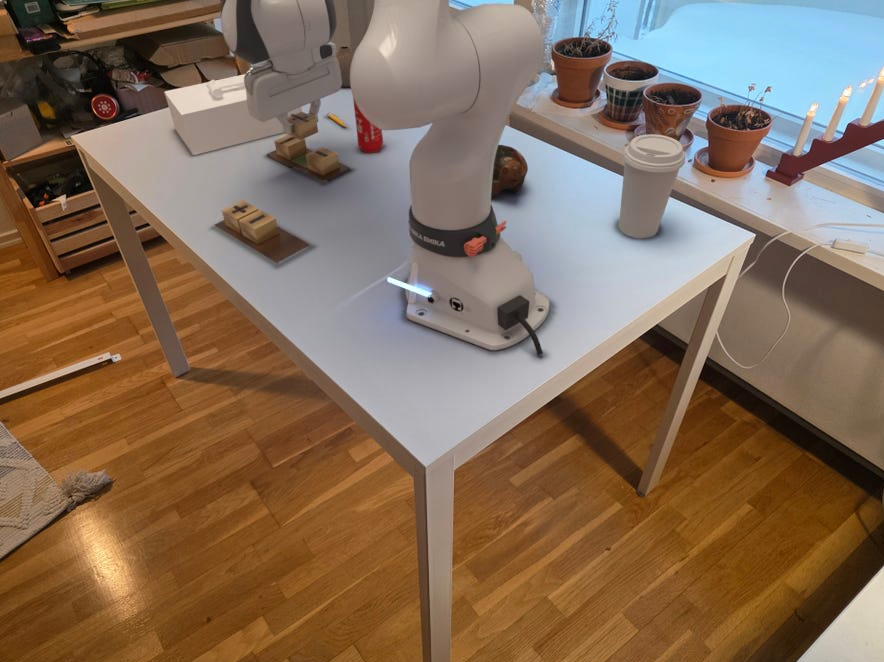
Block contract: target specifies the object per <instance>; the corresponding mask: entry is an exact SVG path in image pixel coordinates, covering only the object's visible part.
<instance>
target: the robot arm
mask: <svg viewBox="0 0 884 662" xmlns="http://www.w3.org/2000/svg"><path fill="white" fill-rule="evenodd" d="M337 25H338V23H337V13H336V6H335V2H334V0H223V1H222V3H221V9H220V27H221V32H222V35H223V36H222V37H223V38H224V42H225V45H226V47H227V49H228V51H230V52H231V54H233V55H234V56H236V58H239V59H240V60H243V61H244V62H246V63H248V64H249V65H253V66H250V67H249V68H248V70H247V71H246V73H244V74H245V76H244V84H245V88H246V97H247V105H248V111H249V114H250V115H251V116H252V117H253V118H255V119H257V120H259V121H261V122H265V121H268V120H270V119H272V118H275V117H276V118H277V119H278V120H279V121H280V122H281V123H282V124H283V129H284V132H283V133H284V134H285V135H290V134H292V133H294V132H295V129H294V128H295V127H294V124H293V123H290V122H288V121H287V119H286V118H288V112H289V111H292V110H294V109H297V108H299V107H301V108H302V107H304V106H306V105H309V104H310V106H309V111H308V112H307V113H306V114H308V115H311V116H313V117H316V120H317V123H319V115H318V114H319V112H320V108H321V104H322V102H321V99H324V98H326V97H328V96H331V95H334V94H336V93H339V92H340V90H341V88H342V86H341V85H342V79H341V71H340V66H339V62H338V59H337V58H336V55H337V46H336V43H334V42H331V41H332V40H333V37H334V36H335V35H334V34H335V33H336V29H337ZM544 49H545V48H544V38H543V34H542V31H541V28H540V25H539V22H538V21H537V20H536V18H535V16H534V15H533V13H531V12H530V11H529V9H527V8H526V7H524V6H522V5H520V4H515V3H482V4H478V5H475V6H471V7H470V6H469V7H467V8H466V7H465V8H463V9H459V10H456V11H450V0H374V6H373V10H372V15H371V18H370V22H369V25H368V27H367V30H366V32H365V34H364V36H363V38H362V40H361V42H360V43H359V45H358V46H357V47H356V49H355V51H354V52H353V53H354V56H353V59H352V62H351V67H350V86H351V87H350V91H351V94H352V99H353V98H354V101H355V103H356V105H357V107H358V109H359V110H360V112H361V113H362V114H363V116H364V117H365V118H366V119H367V120H368V121H369V122H370V123H371V124H373V125H374V126H376V127H377V128H379V129H381V130H382V131H397V130H398V131H401V130H409V129H419V128H422V127H426V126H428V125H430V127H429V128H428V130H427V132H426V133H424V135H423V136H422V137H421V139H420V140H419V141H418V142H417V144H416V145H415V147H414V149H412V153H411V155H410V159H409V166H408V167H409V168H408V169H409V182H410V185H409V187H410V206H409V209H408V229H409V231H408V232H409V236H410V239H411V241H412V242H411V255H410V256H411V257H410V266H409V272H408V277H407V281H406V283H405V282H403V281H400V280H397V279H394V278H392V277H387V282H388V283H390V284H393V285H396V286H398V287H401V288H403V289H404V293H405V297H406V301H407V306H406V315H405V316H406V318H407V319H408V320H410V321H412V322H414V323H417V324H420V325H423V326H425V327H428V328H431V329H433V330H435V331H439V332H441V333H444V334H446V335H449V336H451V337H454V338H457V339H459V340H461V341H465V342H468V343H471V344H474V345H476V346H478V347H481V348H483V349H487V350H490V351H499V350H504V349H506V348H510V347H512V346H514V345H516V344H518V343H520V342H522V341H523V340H525V339H526V338H527V337H529V336H530V338H531V340H532V343H533V345H534V348H535V351H536V355H537V356H540V355H543V353H544V352H543V349H542V346H541V343H540V340H539V337H538V335H537V334H536V330H537V329H539V327H540V326H541V325H542V324H543V323H544V322H545V320H546V318H547V317H548V315H549V312H550V299H549V298H548V297H546V296H545V295H543V294H542V293H541V292H539V291H538V290H536V283H535V278H534V274H533V272H532V269H530V267H528V265H527V264H526V263H525V262H524V261H523V257H522V254H521V253H520V252H518V251H517V250H516V251H514V250H513V248H512V247H511V246H510V245H509V244H508V243H507V241H506V240H505V239H504V238H503V237H502V235H501V233H502V232H504V231H505V229H506V228H507V226H506V224H507V221H506V220H504V221H503V222H501V223H500V224H499V223H498V220H497V217H496V213H495V210H494V207H493V205H492V198H491V192H492V179H493V168H494V160H495V156H496V151H497V148H498V145H500V141H501V138H502V135H503V133H504V131H505V128H506V126H507V123H508V121H509V119H510V117H511V114H512V112H513V110H514V108H515V106H516V105H517V102H519V99H520V97H521V96H522V95H523V93H524V91H525V90H526V89H527V88H528V87H529V85H530V84H532V82H533V81H534V80H535V79H536V77H537V76H538V74H539V73H540V70H541V68H542V64H543V60H544ZM256 64H258V65H256ZM249 73H250V74H249ZM248 74H249V75H248ZM354 101H353V102H354Z"/></svg>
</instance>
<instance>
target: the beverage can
mask: <svg viewBox="0 0 884 662" xmlns="http://www.w3.org/2000/svg"><path fill="white" fill-rule="evenodd" d="M352 99H353V101H352V102H353V108H354V110H353V111H354V117H355V126H356V127H355V129H356V135H357V144H358V146H359V148H360V151H361V152H363V153H366V154H367V153H368V154H372V153H378V152H379V151H381V150H382V146H383V144H384V140H383V139H384V138H383V130H381V129H379V128H377V127H376V126H374V125H373V124H371V123H370V122H369V121H368V120H367V119H366V118H365V117H364V116H363V114H362V113H361V112H360V110H359V109H358V107H357V105H356V103H355V101H354V98H353V97H352Z"/></svg>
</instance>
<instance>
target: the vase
mask: <svg viewBox="0 0 884 662" xmlns="http://www.w3.org/2000/svg"><path fill="white" fill-rule="evenodd" d="M354 53H355V52H353V51H352V50H351V48H350V46H348V45H342V46H340V47H339V48H338V51H337V52H336V54H335V57H336V58H337V59H338V62H339V66H340V71H341V79H342V85H341V87H343V88H351V86H350V67H351V62H352V59H353V56H354Z"/></svg>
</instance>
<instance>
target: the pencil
mask: <svg viewBox="0 0 884 662" xmlns="http://www.w3.org/2000/svg"><path fill="white" fill-rule="evenodd" d="M326 115H327V117H329V118H330V119H331V120H333V121H334V122H335V123H337V124H339V125H340V126H341V127H343V128H344V127H345V128H347V125H346V124H345V123H344V122H343V121H342V120H341V119H340V118H337V117H336V116H335V115H333V114H332V113H331V112H327V114H326Z"/></svg>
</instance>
